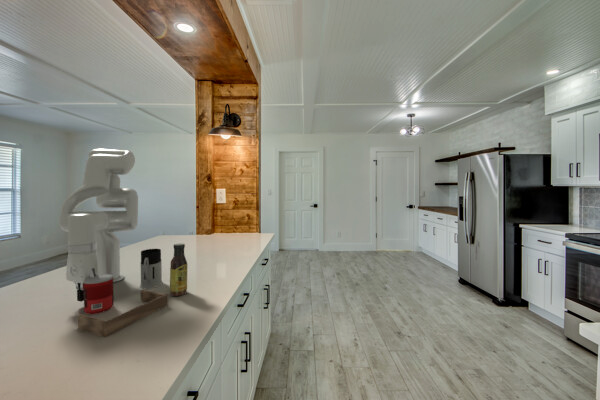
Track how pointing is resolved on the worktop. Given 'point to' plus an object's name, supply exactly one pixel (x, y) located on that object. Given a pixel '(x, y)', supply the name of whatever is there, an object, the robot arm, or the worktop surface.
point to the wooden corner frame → (124, 315)
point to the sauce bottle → (178, 271)
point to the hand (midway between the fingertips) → (83, 299)
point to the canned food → (98, 294)
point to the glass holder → (151, 268)
